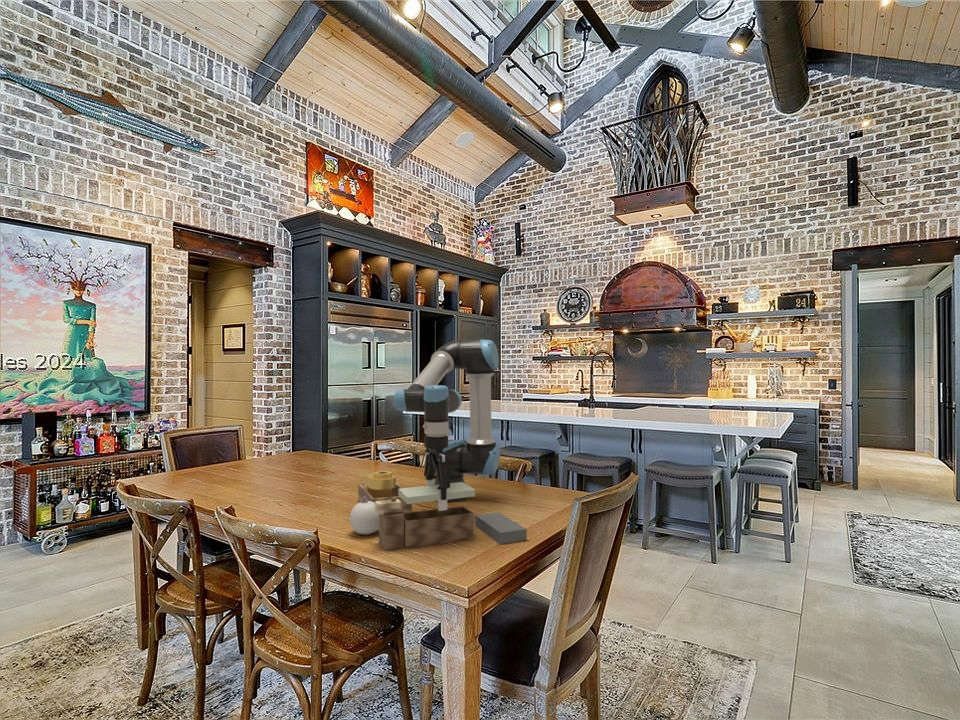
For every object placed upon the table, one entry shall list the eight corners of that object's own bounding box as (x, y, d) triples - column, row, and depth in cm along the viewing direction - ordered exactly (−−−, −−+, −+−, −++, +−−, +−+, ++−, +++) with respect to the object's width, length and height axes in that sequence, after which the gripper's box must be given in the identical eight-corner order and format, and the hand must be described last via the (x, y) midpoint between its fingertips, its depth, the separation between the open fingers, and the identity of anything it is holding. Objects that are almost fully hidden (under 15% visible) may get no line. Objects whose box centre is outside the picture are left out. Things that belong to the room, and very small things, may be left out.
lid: (462, 488, 169) (462, 482, 169) (475, 496, 159) (475, 489, 159) (398, 495, 161) (398, 488, 161) (407, 504, 151) (407, 497, 151)
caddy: (394, 503, 200) (394, 480, 200) (411, 521, 177) (411, 495, 178) (358, 507, 195) (358, 483, 195) (371, 526, 172) (371, 499, 172)
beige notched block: (397, 508, 157) (397, 495, 157) (401, 512, 153) (401, 498, 153) (374, 511, 154) (375, 497, 154) (377, 514, 150) (377, 501, 150)
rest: (498, 522, 177) (498, 512, 177) (526, 540, 158) (526, 529, 158) (474, 525, 173) (474, 515, 173) (500, 544, 155) (500, 532, 155)
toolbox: (463, 530, 168) (463, 497, 168) (474, 539, 160) (474, 504, 160) (378, 541, 157) (378, 506, 157) (385, 551, 149) (385, 514, 149)
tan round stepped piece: (398, 519, 180) (398, 474, 180) (372, 523, 176) (372, 476, 176) (385, 505, 198) (385, 464, 198) (361, 508, 194) (361, 466, 195)
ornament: (352, 540, 158) (352, 501, 158) (347, 530, 167) (347, 494, 168) (385, 536, 162) (385, 498, 162) (378, 527, 171) (378, 491, 172)
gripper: (414, 430, 169) (414, 497, 169) (436, 441, 148) (437, 517, 148) (435, 429, 172) (436, 494, 172) (461, 439, 151) (461, 513, 151)
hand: (436, 505), depth 160 cm, fingers closed on lid, 11 cm apart
